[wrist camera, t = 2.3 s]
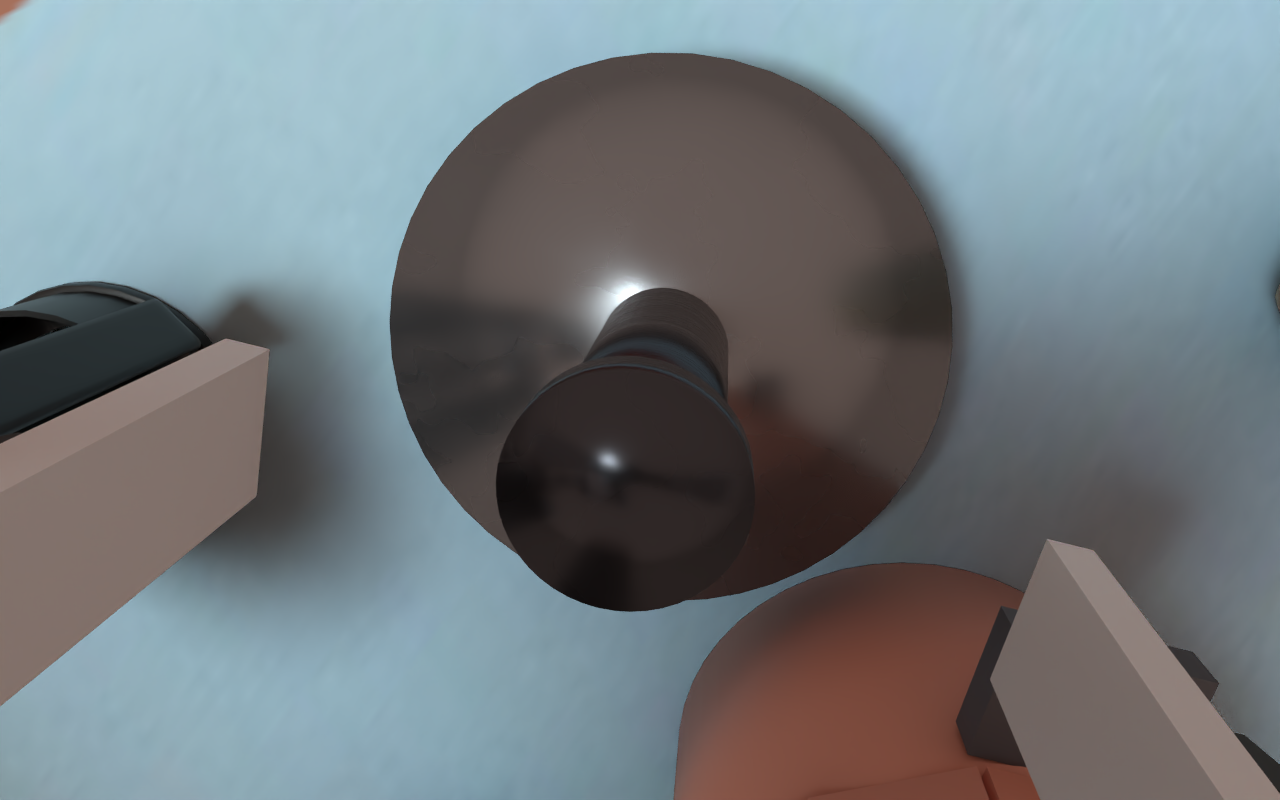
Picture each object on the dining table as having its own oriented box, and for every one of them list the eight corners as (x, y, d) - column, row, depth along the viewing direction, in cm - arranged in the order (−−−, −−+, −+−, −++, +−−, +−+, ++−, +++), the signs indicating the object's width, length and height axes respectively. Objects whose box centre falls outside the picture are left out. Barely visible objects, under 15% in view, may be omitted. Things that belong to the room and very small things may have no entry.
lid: (391, 495, 31) (174, 746, 19) (462, 2, 26) (230, -82, 14) (846, 606, 31) (920, 932, 19) (1005, 127, 26) (1245, 150, 14)
